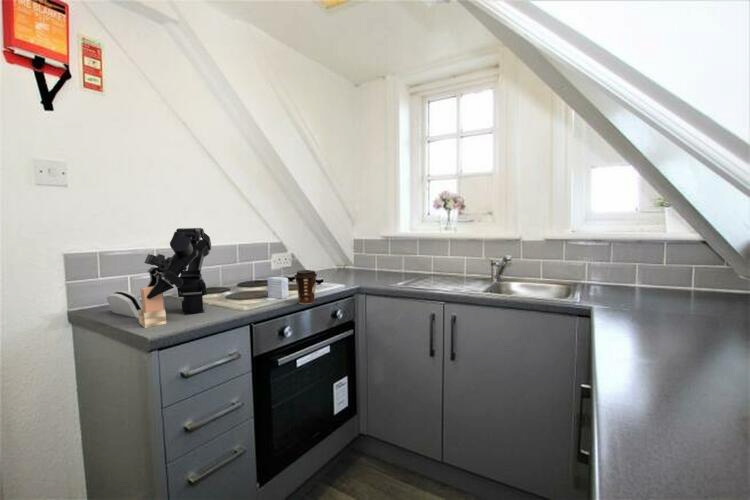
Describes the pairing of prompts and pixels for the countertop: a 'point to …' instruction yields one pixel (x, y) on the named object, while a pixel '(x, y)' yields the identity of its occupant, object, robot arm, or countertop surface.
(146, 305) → the peach tall block
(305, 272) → the coffee cup
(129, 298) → the white dark-banded wedge
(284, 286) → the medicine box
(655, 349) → the countertop surface
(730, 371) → the countertop surface
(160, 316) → the tan wooden block
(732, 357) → the countertop surface
